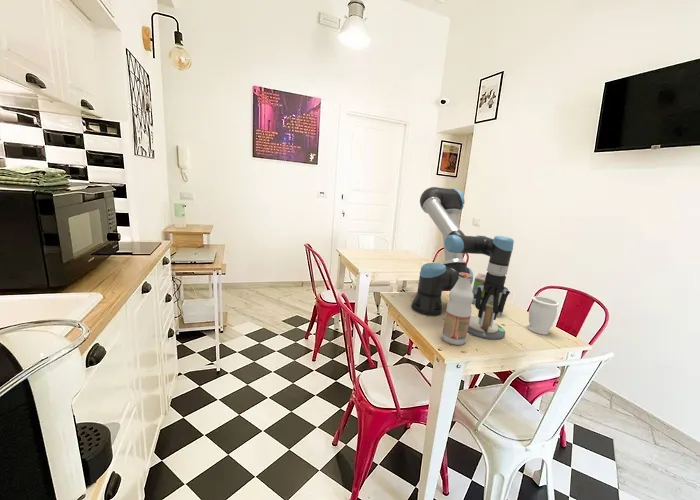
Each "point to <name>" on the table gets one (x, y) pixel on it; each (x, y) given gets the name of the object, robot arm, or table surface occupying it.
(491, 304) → the coffee can
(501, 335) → the dial base
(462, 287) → the fruit juice
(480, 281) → the tea box
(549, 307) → the jar
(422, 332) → the table surface
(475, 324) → the tuner dial
